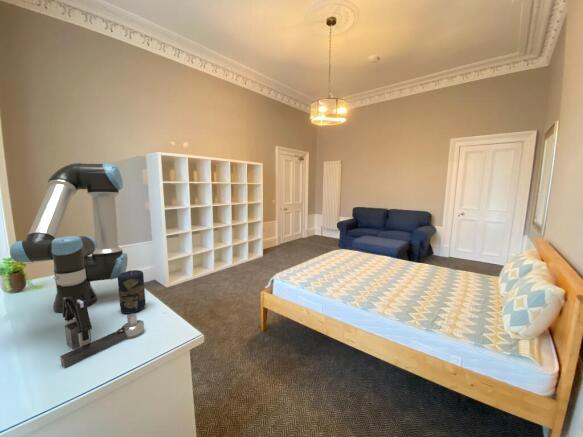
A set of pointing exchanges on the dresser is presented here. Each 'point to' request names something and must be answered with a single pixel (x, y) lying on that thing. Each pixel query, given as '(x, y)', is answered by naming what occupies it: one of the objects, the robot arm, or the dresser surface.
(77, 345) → the socket
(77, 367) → the dresser surface
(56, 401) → the dresser surface
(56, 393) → the dresser surface
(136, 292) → the canister
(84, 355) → the ratchet
